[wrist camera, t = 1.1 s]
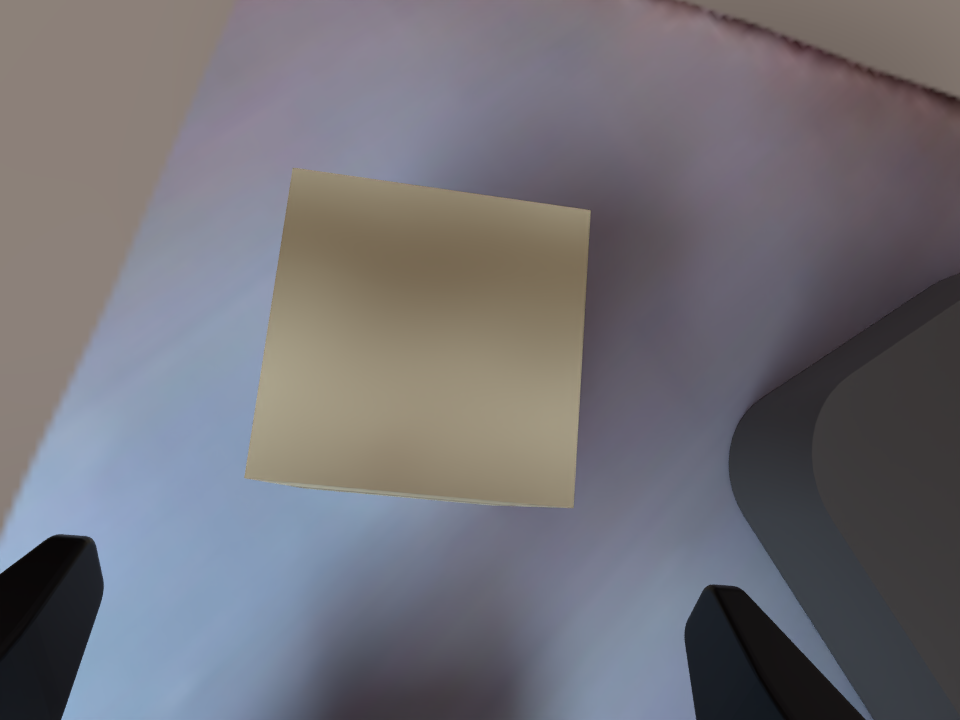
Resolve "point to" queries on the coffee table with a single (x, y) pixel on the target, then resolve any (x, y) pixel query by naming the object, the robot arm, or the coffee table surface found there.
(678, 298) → the coffee table surface
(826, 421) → the streaming box
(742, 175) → the coffee table surface
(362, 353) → the plain birch block
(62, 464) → the coffee table surface
